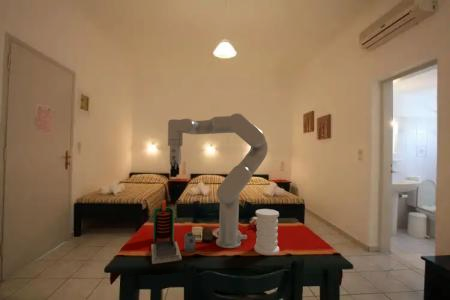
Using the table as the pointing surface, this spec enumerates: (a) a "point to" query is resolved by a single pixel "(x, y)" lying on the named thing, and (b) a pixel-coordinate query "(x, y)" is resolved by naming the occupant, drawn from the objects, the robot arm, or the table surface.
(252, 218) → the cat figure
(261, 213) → the decorative container
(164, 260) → the mounting plate
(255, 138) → the robot arm
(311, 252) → the table surface
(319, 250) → the table surface
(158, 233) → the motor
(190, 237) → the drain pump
